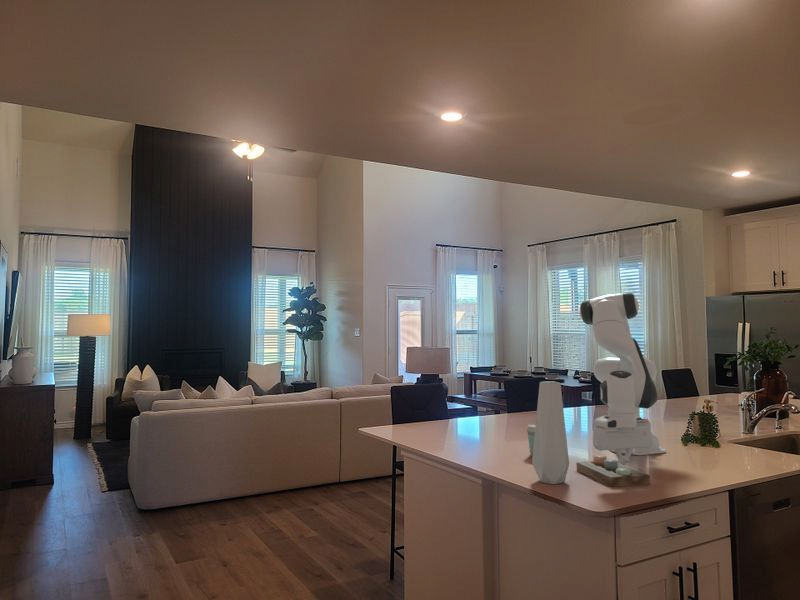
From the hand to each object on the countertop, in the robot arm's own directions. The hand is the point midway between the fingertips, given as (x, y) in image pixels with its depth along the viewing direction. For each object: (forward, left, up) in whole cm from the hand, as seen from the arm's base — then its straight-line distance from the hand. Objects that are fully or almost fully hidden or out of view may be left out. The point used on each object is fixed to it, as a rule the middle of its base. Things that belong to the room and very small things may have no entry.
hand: (623, 462), depth 183 cm
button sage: (+1, 0, -5) cm, 5 cm away
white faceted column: (+23, -6, -7) cm, 24 cm away
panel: (+1, -7, -7) cm, 9 cm away
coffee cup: (+11, -44, -7) cm, 46 cm away
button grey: (+1, -7, -4) cm, 8 cm away
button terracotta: (+1, -14, -4) cm, 14 cm away
